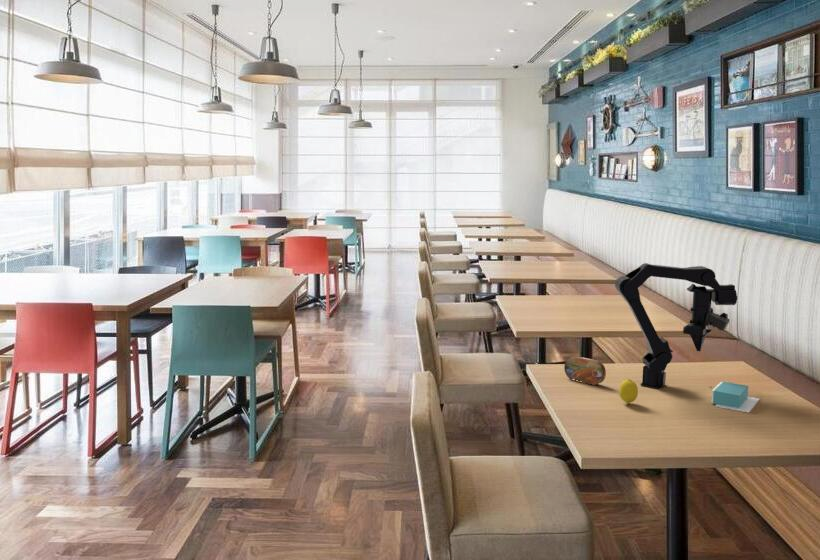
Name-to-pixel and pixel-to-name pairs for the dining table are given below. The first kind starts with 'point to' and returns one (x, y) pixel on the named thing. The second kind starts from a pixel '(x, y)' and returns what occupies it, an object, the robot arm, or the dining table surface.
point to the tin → (585, 370)
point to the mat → (743, 405)
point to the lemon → (628, 391)
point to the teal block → (729, 394)
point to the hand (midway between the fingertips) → (698, 351)
